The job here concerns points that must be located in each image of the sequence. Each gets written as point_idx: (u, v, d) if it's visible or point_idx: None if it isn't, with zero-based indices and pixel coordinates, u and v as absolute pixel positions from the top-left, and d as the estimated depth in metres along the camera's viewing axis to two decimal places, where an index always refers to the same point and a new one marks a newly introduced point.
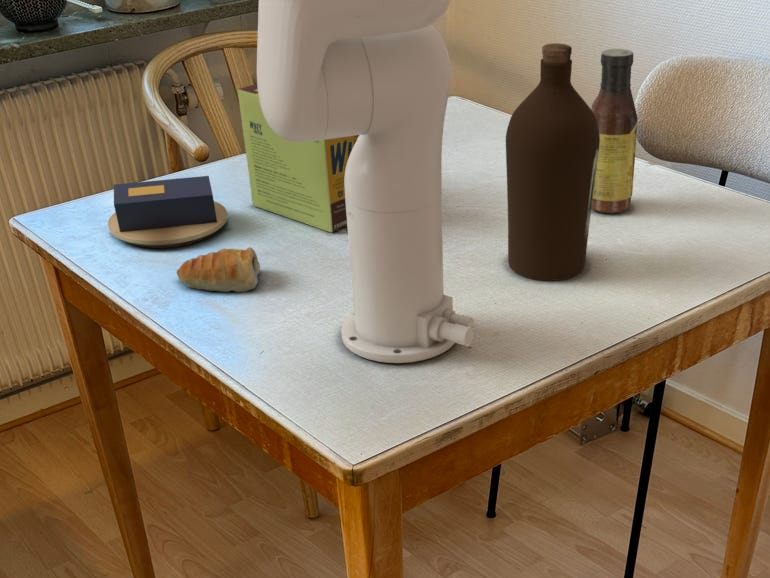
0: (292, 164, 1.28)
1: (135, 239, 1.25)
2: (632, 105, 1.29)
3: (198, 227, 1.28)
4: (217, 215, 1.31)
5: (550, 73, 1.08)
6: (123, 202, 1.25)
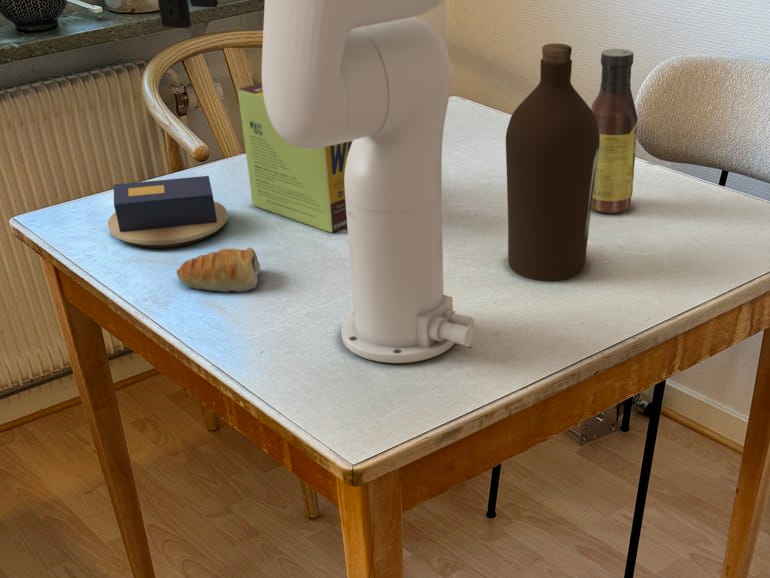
0: (292, 164, 1.28)
1: (135, 239, 1.25)
2: (632, 105, 1.29)
3: (198, 227, 1.28)
4: (217, 215, 1.31)
5: (550, 73, 1.08)
6: (123, 202, 1.25)
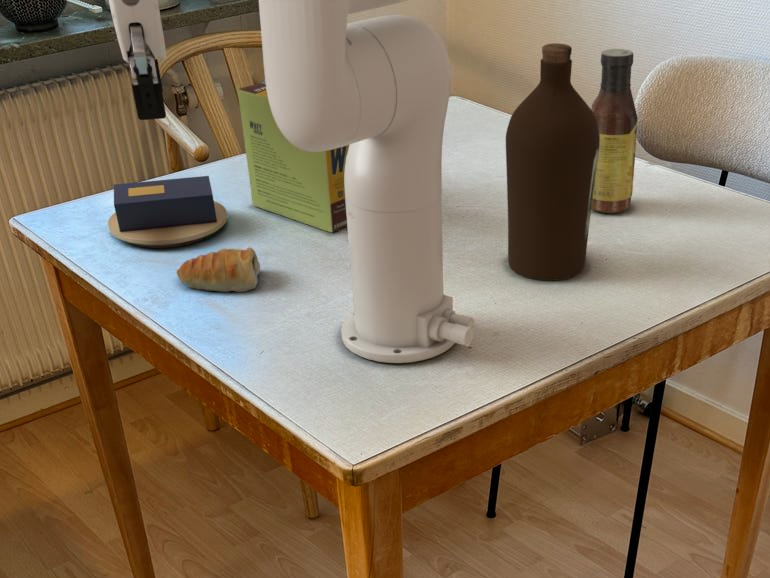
0: (292, 164, 1.28)
1: (135, 239, 1.25)
2: (632, 105, 1.29)
3: (198, 227, 1.28)
4: (217, 215, 1.31)
5: (550, 73, 1.08)
6: (123, 202, 1.25)
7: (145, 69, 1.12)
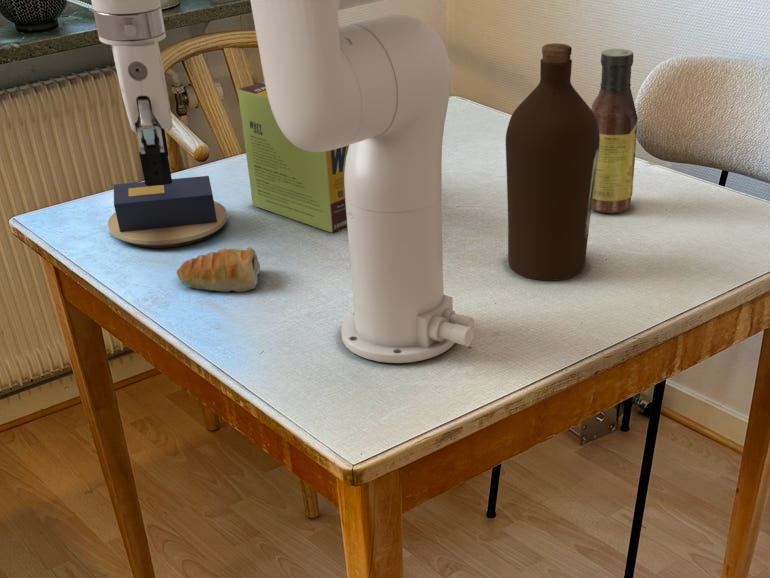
0: (292, 164, 1.28)
1: (135, 239, 1.25)
2: (632, 105, 1.29)
3: (198, 227, 1.28)
4: (217, 215, 1.31)
5: (550, 73, 1.08)
6: (123, 202, 1.25)
7: (152, 140, 1.17)
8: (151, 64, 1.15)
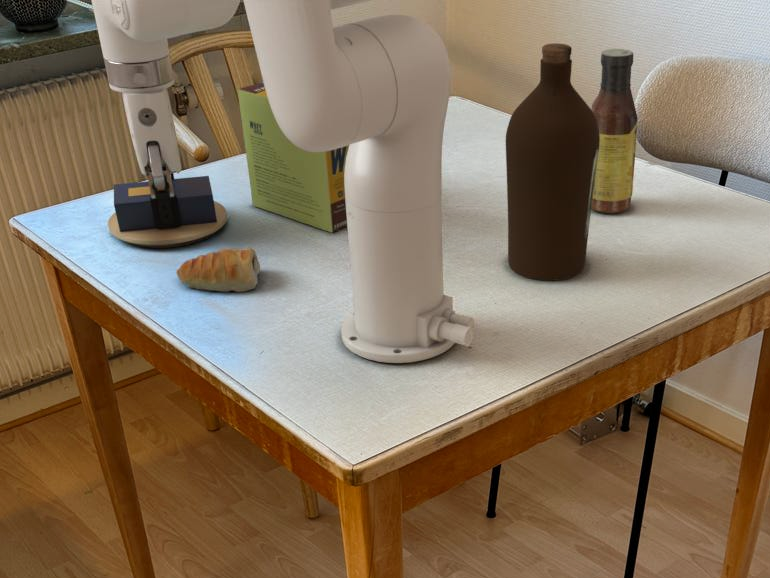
0: (292, 164, 1.28)
1: (135, 239, 1.25)
2: (632, 105, 1.29)
3: (198, 227, 1.28)
4: (217, 215, 1.31)
5: (550, 73, 1.08)
6: (123, 202, 1.25)
7: (162, 186, 1.21)
8: (160, 110, 1.18)
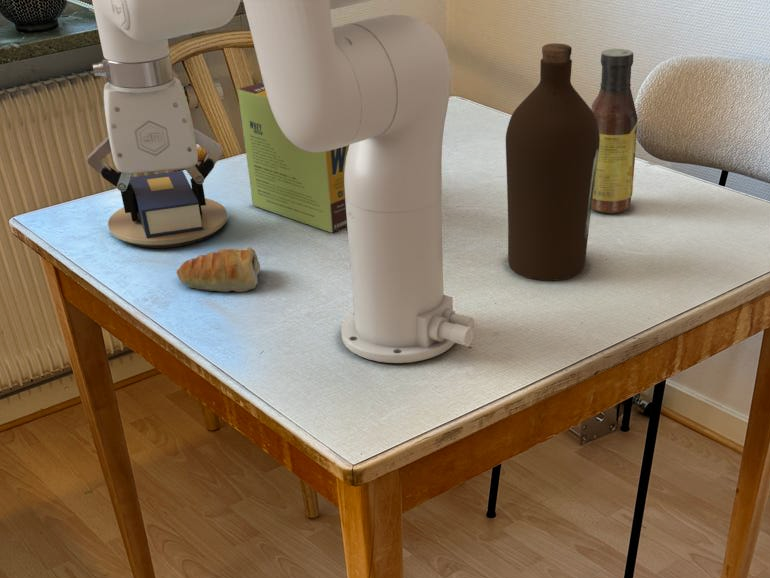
0: (292, 164, 1.28)
1: (115, 212, 1.32)
2: (632, 105, 1.29)
3: (135, 232, 1.26)
4: (166, 236, 1.25)
5: (550, 73, 1.08)
6: (132, 180, 1.31)
7: (99, 172, 1.25)
8: (105, 106, 1.19)
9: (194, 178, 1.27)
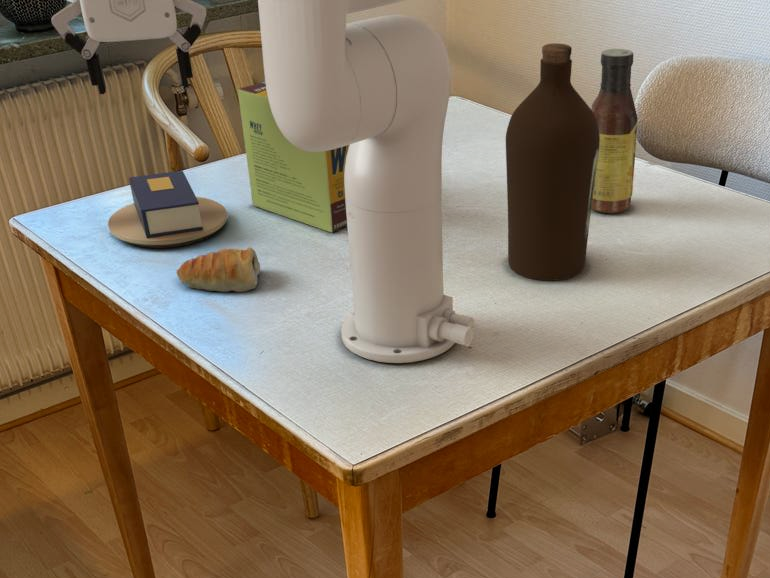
0: (292, 164, 1.28)
1: (115, 212, 1.32)
2: (632, 105, 1.29)
3: (135, 232, 1.26)
4: (166, 236, 1.25)
5: (550, 73, 1.08)
6: (132, 180, 1.31)
7: (63, 37, 1.15)
8: None
9: (179, 45, 1.18)
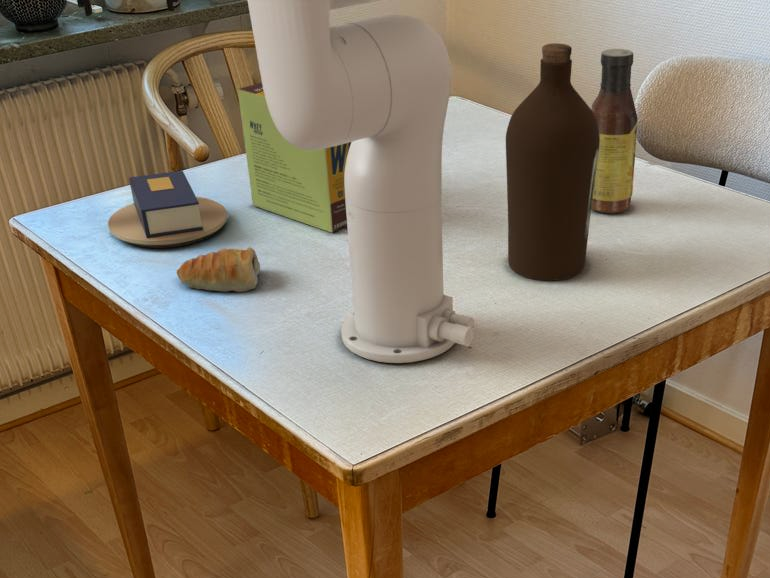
0: (292, 164, 1.28)
1: (115, 212, 1.32)
2: (632, 105, 1.29)
3: (135, 232, 1.26)
4: (166, 236, 1.25)
5: (550, 73, 1.08)
6: (132, 180, 1.31)
7: None
8: None
9: None
